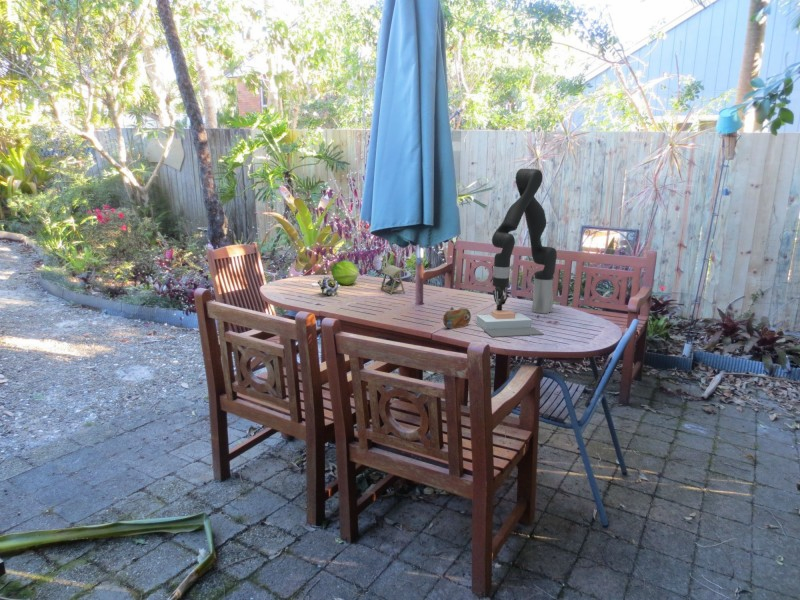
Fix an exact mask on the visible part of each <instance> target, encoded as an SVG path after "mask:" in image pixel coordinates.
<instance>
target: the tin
mask: <svg viewBox="0 0 800 600" xmlns="http://www.w3.org/2000/svg"><path fill="white" fill-rule="evenodd" d="M471 318H472V316H471V312H470V310H469V309H467V308H464V307H461V308H456V309H455V308H454V309H450V310H447V311H446V312H445V313H444V314H443V318H442V322H443V326H444V327H445V328H446V329H450V330H454V329H458V328H463V327H466V326H468V325H469V323H470V321H471Z"/></svg>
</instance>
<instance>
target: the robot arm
mask: <svg viewBox="0 0 800 600" xmlns="http://www.w3.org/2000/svg"><path fill="white" fill-rule="evenodd" d="M543 179H544V177H543V172H542V171H541V170H540V169H536V168H520V169H518V170H517V171H516V174H515V184H516V187H517V192H518V194H519V198H518V199H517V200H516V201H515V202H513V204H511V206H510V207H509V208H508V210H507V211H506V214H505V216H504V218H503V221H502V223H500V225H499V226H498V227H497V229H496V230H495V231H494V233H493V236H492V238H491V243H492V245H493V247H495V248H500V249H502V250H501V252H498V253H496V254H495V255H494V258H493V261H494V263H493V270H492V271H493V272H492V274H493V275H492V285H491V286H492V287H495V288H494V290H492V293H493V301H494V302H495V304H496V308H495V309H496V310H495V311H497V310H503V306H505V305H506V301H508V297H509V296H508V295H507V293H506V292H507V290H506V288H508V287H509V286H510V277H511V275H510V274H511V273H510V272H511V271H510V270H511V269H510V266H511V265H510V264H511V256H512V254H513V251H514V249H515V243H516V239H515V236H514V235H513V234H512V233H510V232H514V231H517V229H518V227H519V225H520V222H521V220H522V217H523V215H524V217H525V223H526V226H527V229H528V230H527V231H528V235H529V240H530V249H531V256H532V261H533V262H534V263H535V264H536V265H542V266H544V267H543V269H542V270H538V271H535V272H534V279H533V291H532V294H533V295H532V305H531V311H532V312H534V313H537V314H548V313H549V312H550V313H553V305H554V303H553V302H554V293H553V285H554V283H553V282H554V275H555V272H556V265H557V257H558V256H557V255H558V254H557V249H556V248H555V247H552V246H543V245H542V236H543V233H544V231H545V229H546V227H547V217H546V212H545V210H544V208H543V206H542V205H541V203H540V202H539V201H538V199H536V197H535V195H536V194H537V193H538V191H539V190H540V187H541V185H542V182H543ZM550 313H549V314H550Z"/></svg>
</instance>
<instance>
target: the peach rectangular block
mask: <svg viewBox="0 0 800 600" xmlns="http://www.w3.org/2000/svg"><path fill="white" fill-rule="evenodd" d="M491 314H492V316H493V317H494V318H495V319H514V318H515V311H513V310H511V309H502V310H497V311H496V310H491Z"/></svg>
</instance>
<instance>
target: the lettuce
mask: <svg viewBox="0 0 800 600" xmlns="http://www.w3.org/2000/svg"><path fill="white" fill-rule="evenodd" d="M359 273H360V272H359V269H358V267H357V265H356V264H354V263H353V262H352V261H348V260H346V261H345V260H341V261H339V262H336V263H334V264H333V265H332V268H331V277H332V279H335V281H337V284H339V285H343V286H348V285H349V286H350V285H352V284H354V283H355V282H356V280H357V279H358V277H359Z"/></svg>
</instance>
